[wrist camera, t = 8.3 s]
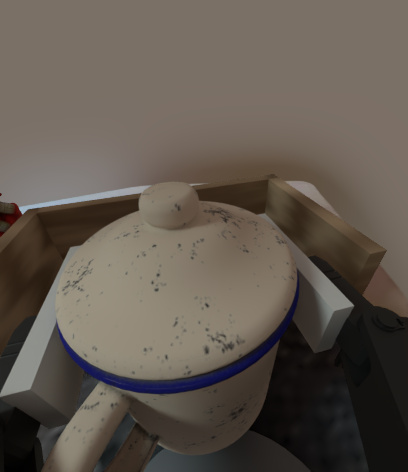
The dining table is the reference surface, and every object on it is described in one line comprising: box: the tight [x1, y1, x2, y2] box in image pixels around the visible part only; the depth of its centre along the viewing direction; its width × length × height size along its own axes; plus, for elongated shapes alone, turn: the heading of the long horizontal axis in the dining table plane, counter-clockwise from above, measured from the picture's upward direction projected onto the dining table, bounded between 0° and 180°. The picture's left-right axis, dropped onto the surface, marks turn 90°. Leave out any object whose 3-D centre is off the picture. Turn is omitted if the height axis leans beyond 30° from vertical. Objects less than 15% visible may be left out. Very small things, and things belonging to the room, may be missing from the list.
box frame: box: [0, 175, 387, 358], centre depth 19 cm, size 15×26×7 cm, turn 102°
